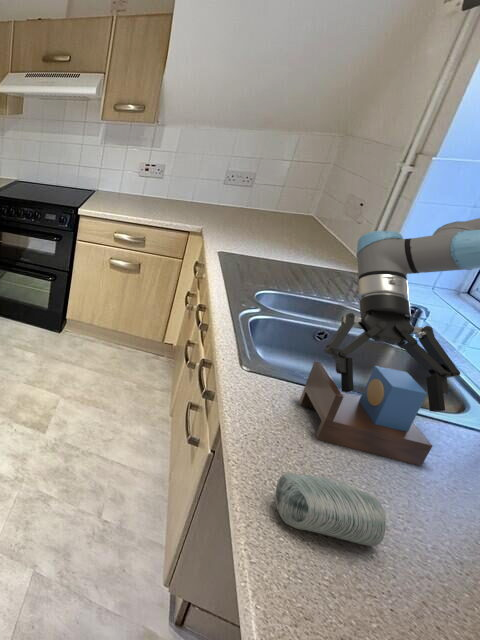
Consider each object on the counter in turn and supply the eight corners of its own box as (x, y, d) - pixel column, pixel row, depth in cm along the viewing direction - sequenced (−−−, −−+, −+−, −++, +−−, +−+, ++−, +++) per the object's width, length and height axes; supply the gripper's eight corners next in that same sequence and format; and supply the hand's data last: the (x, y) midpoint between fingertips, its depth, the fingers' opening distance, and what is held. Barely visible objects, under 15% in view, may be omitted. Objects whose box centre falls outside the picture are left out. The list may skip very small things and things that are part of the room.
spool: (282, 529, 61) (308, 467, 62) (255, 500, 71) (278, 446, 71) (389, 584, 58) (416, 518, 58) (345, 546, 67) (369, 489, 67)
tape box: (390, 408, 84) (408, 372, 81) (408, 432, 78) (428, 393, 75) (357, 401, 86) (373, 365, 83) (373, 424, 80) (391, 386, 77)
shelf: (389, 423, 87) (410, 380, 83) (421, 466, 77) (447, 419, 73) (298, 402, 93) (314, 361, 89) (317, 439, 83) (335, 395, 79)
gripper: (320, 282, 89) (321, 379, 81) (477, 305, 80) (495, 417, 72) (304, 294, 95) (304, 386, 88) (448, 317, 87) (462, 421, 79)
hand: (391, 400), depth 80 cm, fingers open, 13 cm apart
